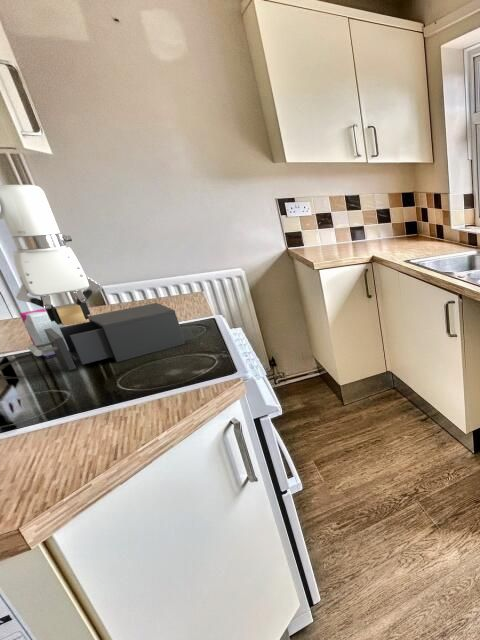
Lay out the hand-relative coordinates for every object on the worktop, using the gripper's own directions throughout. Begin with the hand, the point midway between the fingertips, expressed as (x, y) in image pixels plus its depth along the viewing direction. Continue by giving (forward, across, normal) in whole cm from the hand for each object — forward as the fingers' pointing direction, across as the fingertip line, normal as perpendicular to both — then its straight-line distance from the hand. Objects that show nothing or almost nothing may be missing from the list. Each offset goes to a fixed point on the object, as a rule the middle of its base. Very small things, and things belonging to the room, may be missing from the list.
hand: (72, 320), depth 101 cm
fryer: (+11, -11, 0) cm, 15 cm away
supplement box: (+11, +3, -16) cm, 19 cm away
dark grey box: (+10, 0, 0) cm, 10 cm away
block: (0, 0, 0) cm, 0 cm away
